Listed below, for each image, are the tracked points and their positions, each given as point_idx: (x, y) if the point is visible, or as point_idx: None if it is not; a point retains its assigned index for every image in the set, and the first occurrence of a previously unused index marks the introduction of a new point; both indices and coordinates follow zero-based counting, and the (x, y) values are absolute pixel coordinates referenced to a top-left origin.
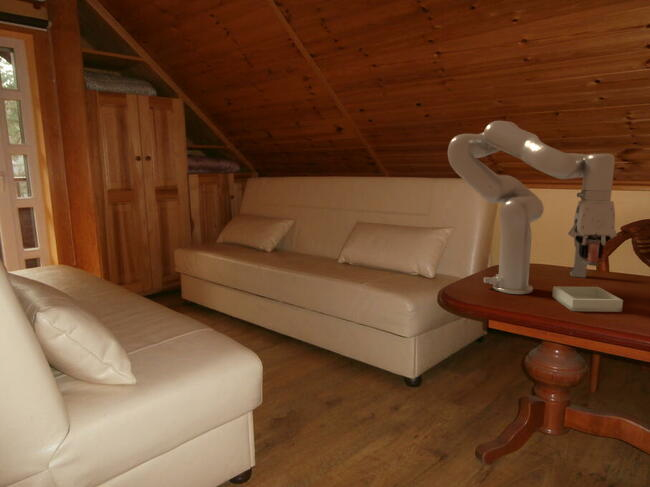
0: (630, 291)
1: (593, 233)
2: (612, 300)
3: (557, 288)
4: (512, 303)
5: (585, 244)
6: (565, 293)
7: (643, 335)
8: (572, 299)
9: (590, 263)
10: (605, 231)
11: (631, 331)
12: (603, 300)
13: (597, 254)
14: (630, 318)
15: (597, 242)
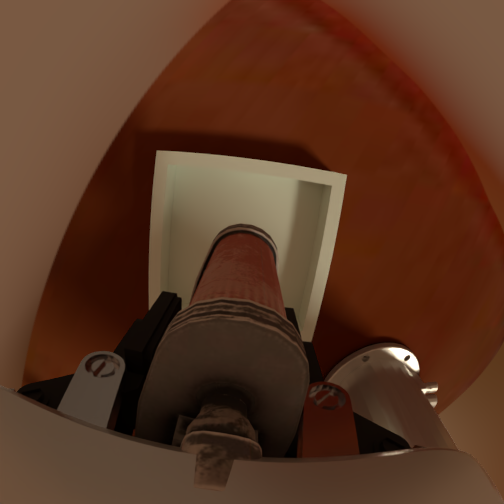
0: (57, 334)
1: (279, 481)
2: (195, 153)
3: (313, 317)
4: (447, 267)
5: (308, 388)
6: (325, 254)
7: None
8: (345, 179)
9: (273, 245)
10: (19, 451)
11: (262, 5)
12: (229, 156)
13: (225, 253)
14: (185, 92)
15: (236, 304)
